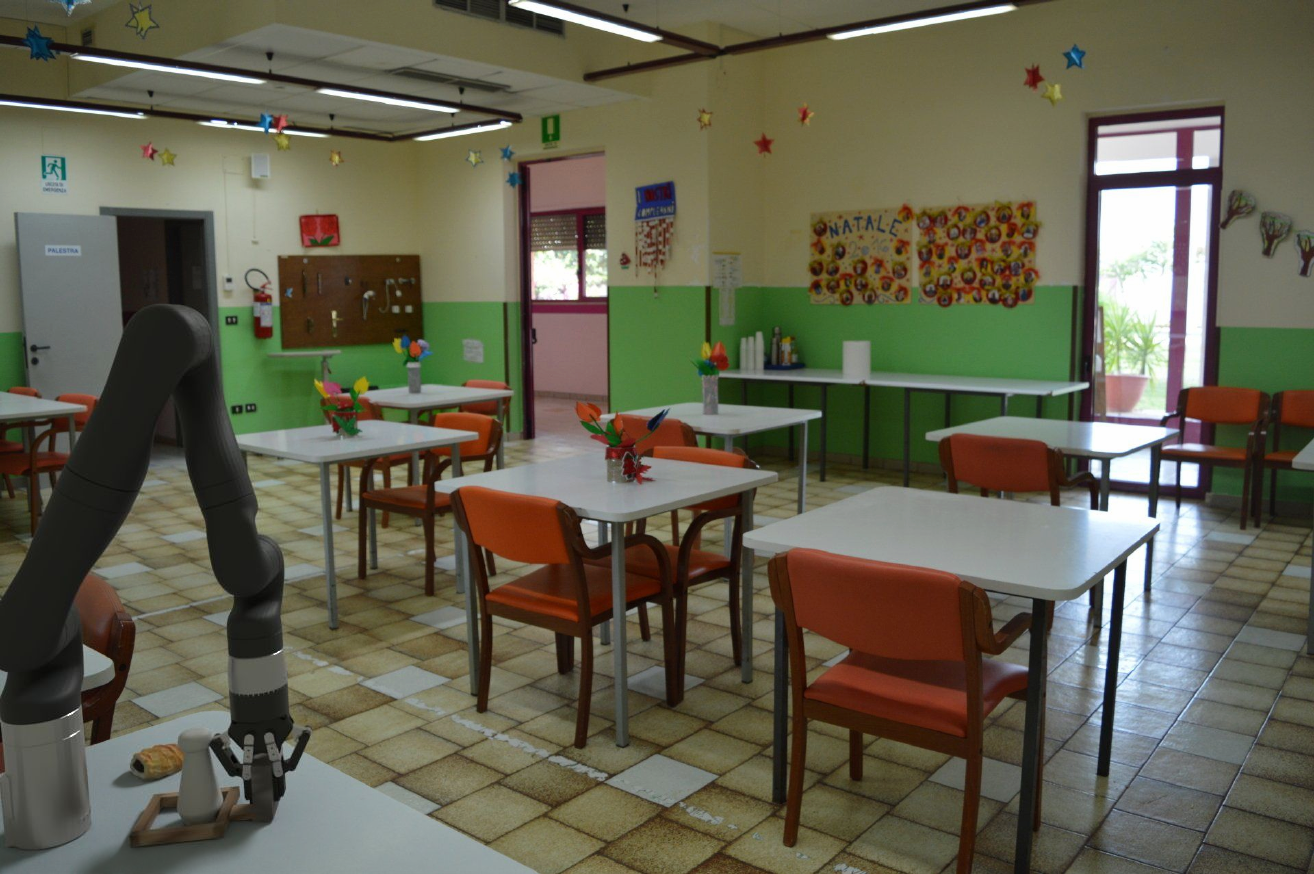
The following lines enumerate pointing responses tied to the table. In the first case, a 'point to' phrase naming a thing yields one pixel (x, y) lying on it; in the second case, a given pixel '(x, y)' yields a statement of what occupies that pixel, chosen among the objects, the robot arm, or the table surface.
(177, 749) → the pastry
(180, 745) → the salt shaker
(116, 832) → the table surface
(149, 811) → the frame
